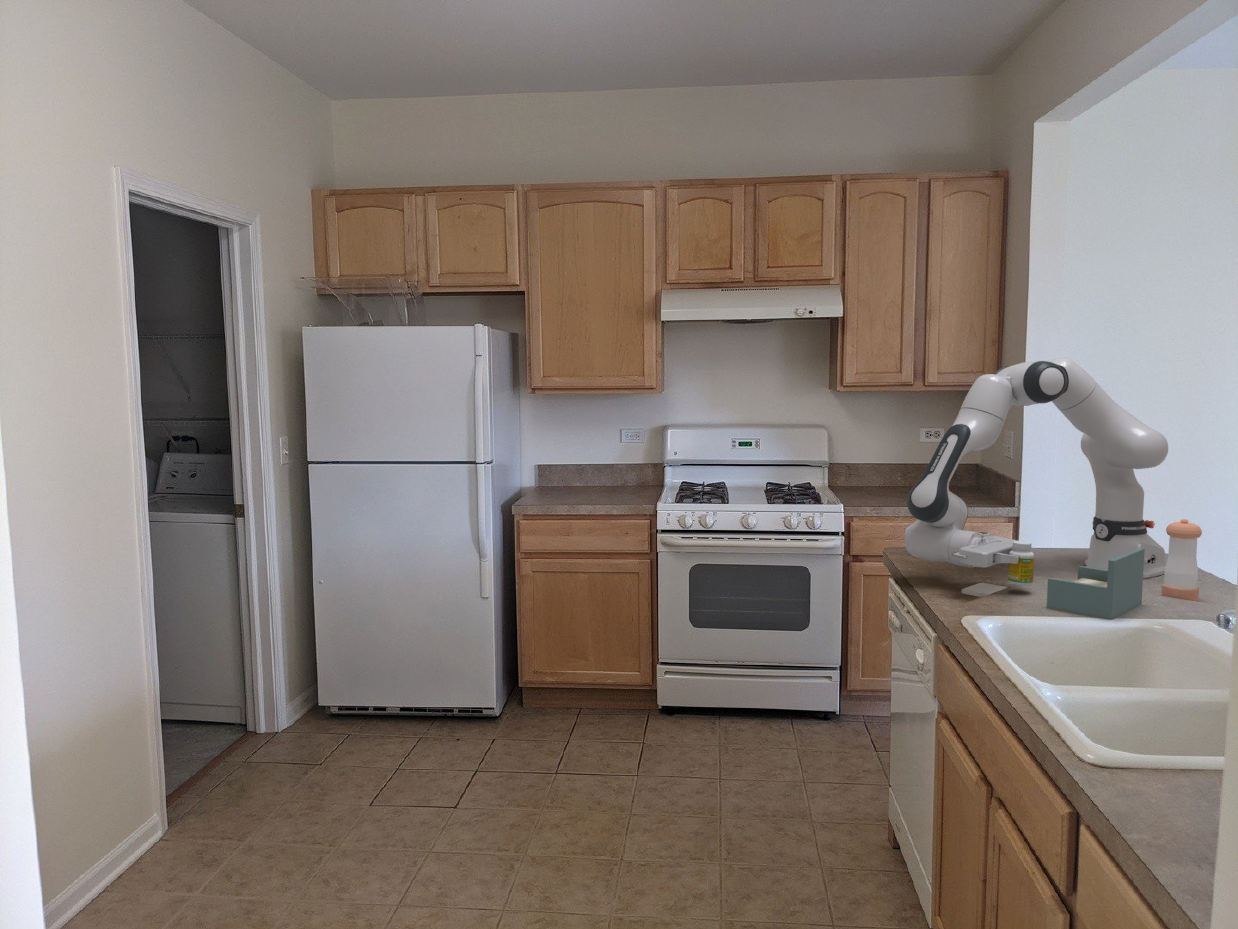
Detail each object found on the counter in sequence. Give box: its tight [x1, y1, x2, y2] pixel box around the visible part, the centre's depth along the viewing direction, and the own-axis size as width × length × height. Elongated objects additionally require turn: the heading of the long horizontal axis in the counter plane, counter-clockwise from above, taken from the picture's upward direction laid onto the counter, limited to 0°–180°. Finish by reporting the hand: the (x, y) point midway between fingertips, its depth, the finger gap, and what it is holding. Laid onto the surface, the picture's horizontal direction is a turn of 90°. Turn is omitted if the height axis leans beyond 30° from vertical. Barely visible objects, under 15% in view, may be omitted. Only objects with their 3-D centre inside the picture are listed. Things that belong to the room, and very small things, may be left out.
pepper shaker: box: [1161, 518, 1203, 603], centre depth 205 cm, size 7×7×19 cm
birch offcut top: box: [1073, 578, 1107, 587], centre depth 196 cm, size 9×11×2 cm
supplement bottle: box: [1007, 540, 1035, 586], centre depth 207 cm, size 5×5×10 cm
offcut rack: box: [1046, 548, 1145, 621], centre depth 196 cm, size 13×18×14 cm
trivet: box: [961, 582, 1008, 598], centre depth 213 cm, size 10×10×1 cm
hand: (1025, 557), depth 207 cm, fingers closed on supplement bottle, 5 cm apart
